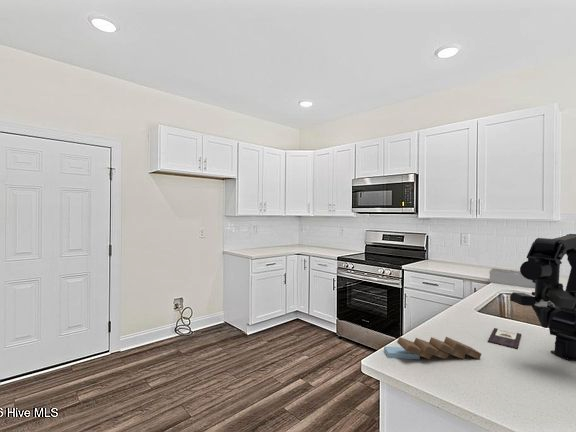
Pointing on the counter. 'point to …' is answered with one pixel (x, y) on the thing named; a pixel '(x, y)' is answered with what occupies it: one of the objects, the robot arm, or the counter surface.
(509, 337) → the chocolate bar
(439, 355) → the domino
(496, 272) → the gray rectangular block
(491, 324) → the counter surface
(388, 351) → the domino
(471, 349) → the domino
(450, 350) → the domino
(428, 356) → the domino
